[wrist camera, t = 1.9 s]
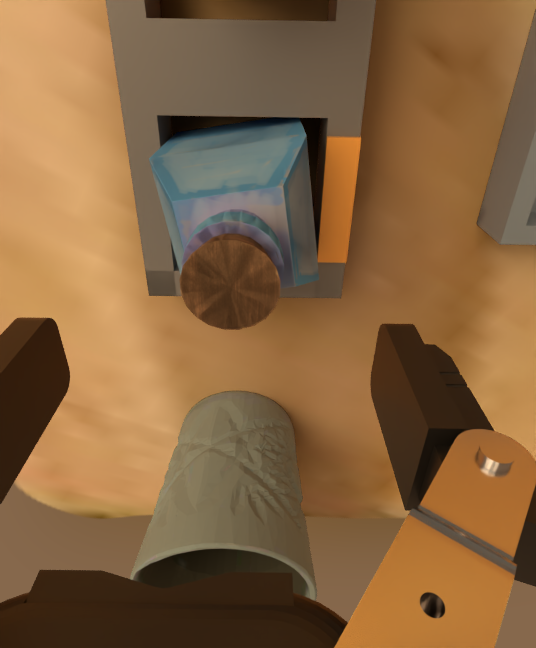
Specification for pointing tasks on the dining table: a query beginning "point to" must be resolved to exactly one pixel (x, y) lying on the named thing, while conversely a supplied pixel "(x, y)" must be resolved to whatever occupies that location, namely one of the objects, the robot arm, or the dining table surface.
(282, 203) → the perfume bottle
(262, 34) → the slot holder
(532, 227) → the tray
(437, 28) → the dining table surface
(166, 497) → the grey cup
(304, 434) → the dining table surface
